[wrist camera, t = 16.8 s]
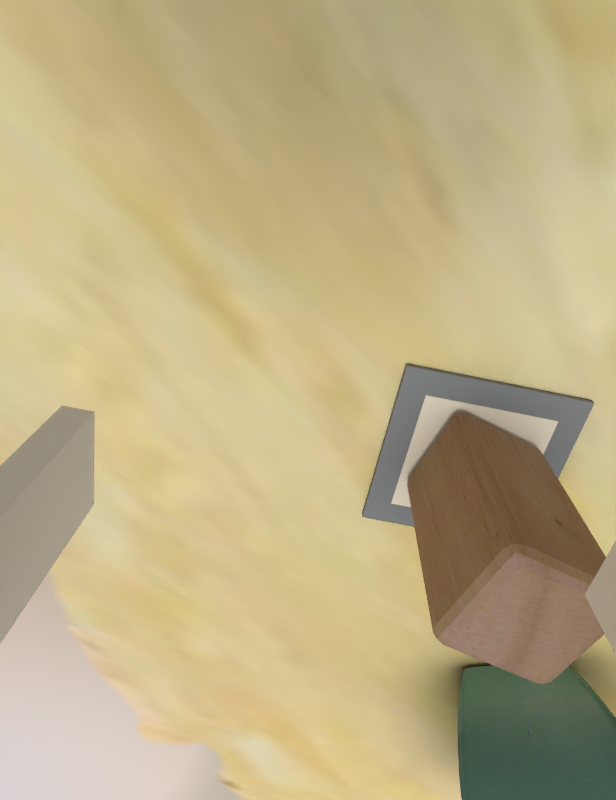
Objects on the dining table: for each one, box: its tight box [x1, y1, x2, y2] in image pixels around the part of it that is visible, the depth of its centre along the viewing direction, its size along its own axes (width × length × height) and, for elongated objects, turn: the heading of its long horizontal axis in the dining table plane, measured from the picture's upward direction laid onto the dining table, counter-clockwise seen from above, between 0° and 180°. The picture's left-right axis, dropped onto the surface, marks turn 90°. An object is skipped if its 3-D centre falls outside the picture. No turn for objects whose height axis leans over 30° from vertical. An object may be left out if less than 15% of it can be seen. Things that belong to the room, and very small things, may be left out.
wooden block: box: [407, 412, 606, 684], centre depth 46 cm, size 10×10×20 cm
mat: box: [362, 364, 594, 527], centre depth 55 cm, size 18×18×1 cm
